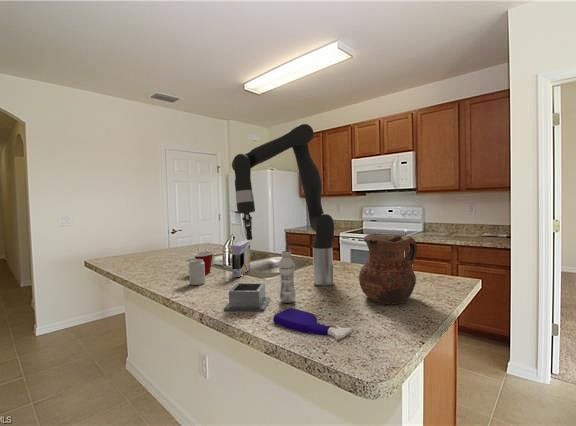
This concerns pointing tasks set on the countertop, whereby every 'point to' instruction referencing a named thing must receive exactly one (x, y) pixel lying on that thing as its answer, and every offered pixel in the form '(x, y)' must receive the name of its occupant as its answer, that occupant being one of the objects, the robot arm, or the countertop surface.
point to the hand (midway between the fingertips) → (249, 239)
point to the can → (197, 272)
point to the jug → (388, 268)
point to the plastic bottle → (287, 278)
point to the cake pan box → (240, 258)
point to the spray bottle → (307, 323)
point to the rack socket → (247, 297)
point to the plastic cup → (205, 259)
